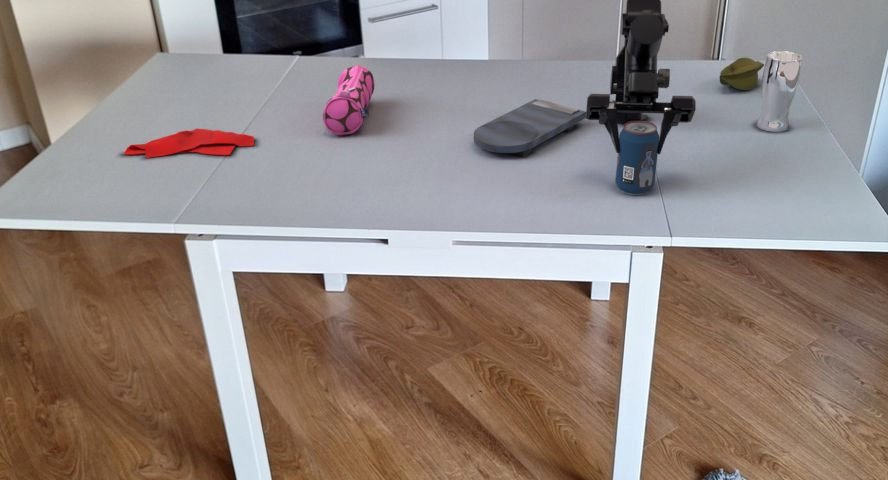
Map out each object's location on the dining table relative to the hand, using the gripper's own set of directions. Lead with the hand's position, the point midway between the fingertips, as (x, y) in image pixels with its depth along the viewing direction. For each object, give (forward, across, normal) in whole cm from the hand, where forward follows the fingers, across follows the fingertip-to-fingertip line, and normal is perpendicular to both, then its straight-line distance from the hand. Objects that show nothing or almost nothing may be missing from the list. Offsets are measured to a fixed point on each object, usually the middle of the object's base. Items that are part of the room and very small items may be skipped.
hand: (638, 152), depth 159 cm
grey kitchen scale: (-12, -21, +22) cm, 33 cm away
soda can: (+4, 0, +6) cm, 8 cm away
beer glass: (-18, +30, +29) cm, 45 cm away
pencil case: (-17, -59, +28) cm, 67 cm away
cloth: (-5, -89, +16) cm, 91 cm away
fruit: (-36, +26, +47) cm, 64 cm away
